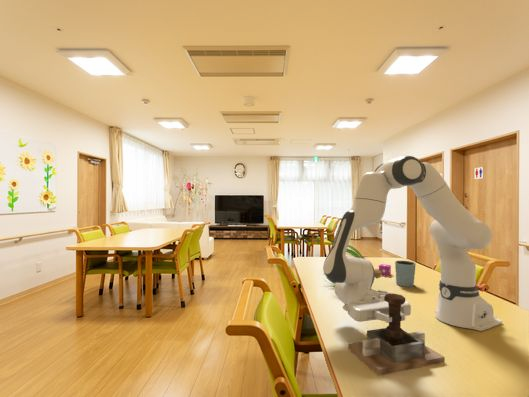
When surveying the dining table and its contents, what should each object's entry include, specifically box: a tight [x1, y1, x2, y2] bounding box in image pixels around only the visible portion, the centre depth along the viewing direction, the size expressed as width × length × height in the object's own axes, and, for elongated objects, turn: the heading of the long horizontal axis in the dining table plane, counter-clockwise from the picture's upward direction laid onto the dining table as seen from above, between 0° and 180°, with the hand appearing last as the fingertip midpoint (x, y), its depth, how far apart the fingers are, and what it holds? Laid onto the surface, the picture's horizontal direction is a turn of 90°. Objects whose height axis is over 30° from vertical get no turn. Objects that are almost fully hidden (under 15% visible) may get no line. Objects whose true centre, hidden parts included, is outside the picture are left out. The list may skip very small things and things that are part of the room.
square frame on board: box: [347, 327, 446, 376], centre depth 86 cm, size 22×14×6 cm, turn 107°
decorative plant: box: [324, 245, 383, 287], centre depth 153 cm, size 26×25×30 cm
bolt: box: [384, 292, 406, 346], centre depth 86 cm, size 6×5×15 cm
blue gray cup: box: [394, 260, 417, 288], centre depth 158 cm, size 10×10×12 cm
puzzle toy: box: [378, 263, 392, 277], centre depth 179 cm, size 6×6×6 cm
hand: (396, 319), depth 85 cm, fingers closed on bolt, 3 cm apart
